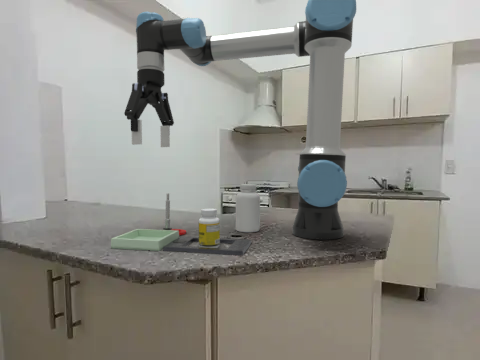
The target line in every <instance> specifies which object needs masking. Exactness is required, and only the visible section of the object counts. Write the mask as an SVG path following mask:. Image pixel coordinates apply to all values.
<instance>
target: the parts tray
mask: <svg viewBox="0 0 480 360" xmlns="http://www.w3.org/2000/svg"><path fill="white" fill-rule="evenodd" d="M178 238H180V235H179V231H177V230H163V229H149V228H148V229H147V228H135V229H133V230H130V231H127V232H125V233H123V234H120V235H116V236H114V237H111V238H110V249H112V250H114V249H117V250H134V251H148V250H150V251H151V252H153V251H154V252H159V251H161V250H163V247H164V246H166V245H167V244H169V243H171V242H173V241H174V240H176V239H178Z"/></svg>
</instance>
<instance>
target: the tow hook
mask: <svg viewBox="0 0 480 360" xmlns="http://www.w3.org/2000/svg"><path fill="white" fill-rule="evenodd" d="M170 202H171V200H170V193H166V200H165V219H164V227H163V229H162V230H177V231H179V236H184V235H186V234H187V230H186V229H183V228H181V229H180V228H172V227H171V218H170V215H171V213H170V209H171V205H170V204H171V203H170Z"/></svg>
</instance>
